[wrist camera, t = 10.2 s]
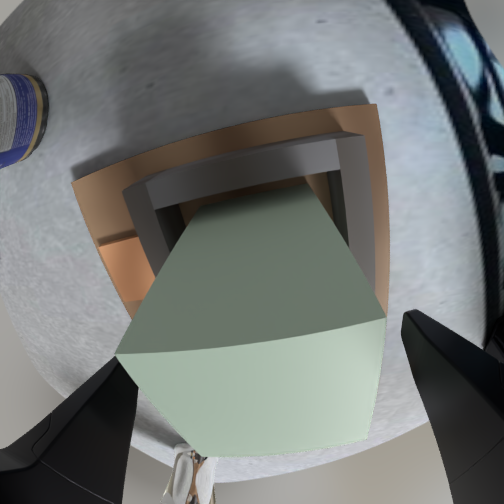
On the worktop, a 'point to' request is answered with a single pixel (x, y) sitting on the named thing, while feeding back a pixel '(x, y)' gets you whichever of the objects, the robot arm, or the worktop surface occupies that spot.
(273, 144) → the socket board
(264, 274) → the sage peg
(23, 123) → the pill bottle
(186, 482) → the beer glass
